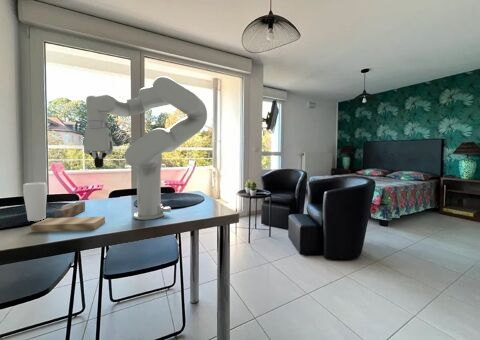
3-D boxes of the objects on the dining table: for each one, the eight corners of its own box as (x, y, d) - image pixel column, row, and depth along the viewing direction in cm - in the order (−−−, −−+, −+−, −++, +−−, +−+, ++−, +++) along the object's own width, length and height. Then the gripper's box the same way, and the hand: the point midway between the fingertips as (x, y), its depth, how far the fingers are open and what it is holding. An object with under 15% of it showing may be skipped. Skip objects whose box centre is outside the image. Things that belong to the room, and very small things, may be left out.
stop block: (75, 211, 98) (74, 203, 97) (68, 215, 93) (67, 206, 93) (69, 212, 97) (68, 203, 97) (62, 215, 92) (61, 206, 92)
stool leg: (61, 221, 83) (61, 211, 83) (52, 222, 83) (52, 211, 82) (85, 209, 100) (84, 200, 100) (77, 210, 100) (77, 201, 99)
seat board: (106, 221, 85) (106, 215, 85) (94, 229, 76) (94, 223, 76) (50, 223, 82) (49, 217, 82) (31, 232, 73) (30, 225, 73)
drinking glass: (33, 223, 82) (31, 185, 80) (20, 221, 83) (17, 184, 82) (52, 218, 88) (50, 182, 87) (39, 216, 90) (37, 181, 88)
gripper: (119, 127, 97) (120, 167, 98) (83, 126, 94) (85, 167, 96) (112, 125, 90) (113, 168, 91) (73, 123, 87) (75, 168, 88)
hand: (99, 167), depth 93 cm, fingers closed
